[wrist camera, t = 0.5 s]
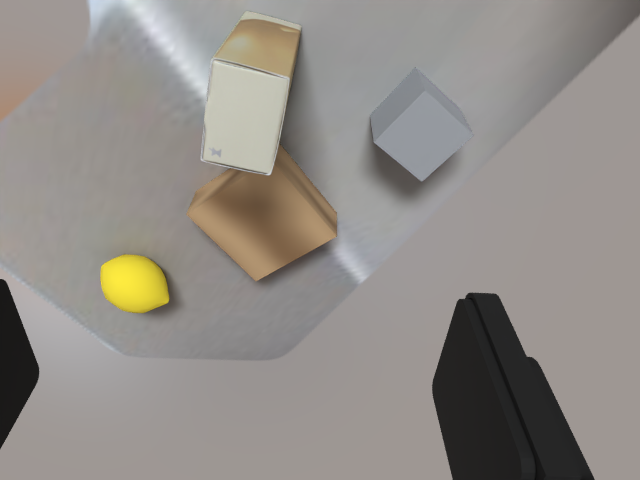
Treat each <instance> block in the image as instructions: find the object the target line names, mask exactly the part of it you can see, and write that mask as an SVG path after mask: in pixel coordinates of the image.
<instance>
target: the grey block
mask: <svg viewBox="0 0 640 480" xmlns="http://www.w3.org/2000/svg"><path fill="white" fill-rule="evenodd" d="M370 119H371V126H372V134H373V141H374V143H375V144H376V145H378V146H379V147H380V148H381V149H382V150H384V151H385V152H386V153H387V154H389V155H390V156H391V157H392V158H393V159H395V160H396V161H397V162H398V163H399V164H401V165H402V166H403V167H404V168H406V169H407V170H408V171H409V172H410V173H412V174H413V175H414V176H415V177H416V178H418V179H419V180H420V181H421V182H422V181H423V180H424V179H426V178H427V177H428V176H429V175H430V174H431V173H432V172H433V171H435V170H436V169H437V168H438V167H439V166H440V165H441V164H442V163H443V162H445V161H446V160H447V159H448V158H449V157H450V156H451V155H452V154H454V153H455V152H456V151H457V150H458V149H459V148H460V147H461V146H462V145H464V144H465V143H466V142H467V141H468V140H469V139H470V138H471V137H473V136H474V135H473V133H472V131H471V129H470V127H469V125H468V123H467V121H466V119H465V117H464V115H463V113H462V111H461V110H460V108H459V107H458V106H457V105H456V104H455V103H454V102H453V101H451V100H450V99H449V98H448V97H447V96H446V95H445V94H444V93H443V92H442V91H441V90H440V89H439V88H438V87H437V86H436V85H434V84H433V83H432V82H431V81H430V80H429V79H428V78H427V77H426V76H425V75H424V74H423V73H422V72H421V71H420V70H418V69H417V68H416V67H415V68H414V69H413V70H412V72H411V73H410V74H409V75H408V76H407V77H406V78H405V79H404V80H403V81H402V82H401V83H400V84H399V85H398V86H397V87H396V88H395V89H394V90H393V91H392V93H391V94H390V95H389V96H388V97H387V98H386V99H385V100H384V101H383V102H382V103H381V104H380V105H379V106H378V107H377V108H376V109H375V110H374V111H373V112H372V114H371V115H370Z"/></svg>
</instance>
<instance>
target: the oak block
mask: <svg viewBox="0 0 640 480" xmlns="http://www.w3.org/2000/svg"><path fill="white" fill-rule="evenodd" d="M186 215H188V216H189V217H190V218H191V219H192V220H193V221H194V222H195V223H196V224H197V225H198V226H199V227H200V228H201V229H202V230H203V231H204V232H205V233H206V234H207V235H208V236H209V237H210V238H211V239H212V240H213V241H215V242H216V243H217V244H218V245H219V246H220V247H221V248H222V249H223V250H224V251H225V252H226V253H227V254H228V255H229V256H230V257H231V258H232V259H233V260H234V261H235V262H236V263H237V264H238V265H239V266H240V267H241V268H243V269H244V270H245V271H246V272H247V273H248V274H249V275H250V276H251V277H252V278H253V279H254V280H255V281H258V280H259V279H261V278H263V277H265V276H267V275H268V274H270V273H272V272H274V271H276V270H277V269H279V268H281V267H283V266H285V265H286V264H288V263H290V262H292V261H294V260H295V259H297V258H299V257H301V256H303V255H304V254H306V253H308V252H310V251H312V250H313V249H315V248H317V247H319V246H321V245H322V244H324V243H326V242H328V241H330V240H331V239H333V238H335V237H337V212H336V211H335V210H334V209H333V208H332V206H331V205H330V204H329V203H328V202H327V200H326V199H325V198H324V197H323V195H322V194H321V193H320V192H319V191H318V189H317V188H316V187H315V186H314V185H313V183H312V182H311V181H310V180H309V178H308V177H307V176H306V175H305V174H304V172H303V171H302V170H301V169H300V168H299V166H298V165H297V164H296V163H295V161H294V160H293V159H292V158H291V157H290V155H289V154H288V153H287V152H286V151H285V149H284V148H283V147H282V146H281V145H280V143H279V146H278V151H277V155H276V159H275V162H274V166H273V170H272V173H271V174H270V175H264V174H258V173H252V172H247V171H242V170H238V169H233V168H230V169H228V170H227V171H225V172H224V173H222V174H221V175H219V176H218V177H216V178H215V179H214V180H212V181H211V182H209V183H208V184H206V185H205V186H203V187H202V188H200V189H199V190H197V191H196V193H195V195H194V198H193V200H192V202H191V205H190V207H189V209H188V212H187V214H186Z"/></svg>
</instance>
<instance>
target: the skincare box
mask: <svg viewBox="0 0 640 480" xmlns="http://www.w3.org/2000/svg"><path fill="white" fill-rule="evenodd" d="M301 29H302V27H301V26H300V25H298V24H294V23H291V22H288V21H284V20H281V19H277V18H273V17H270V16H266V15H262V14H258V13H254V12H250V11H246V12H244V14H243V15H242V17H241V18H240V19H239V21H238V22H237V24H236V25H235V27H234V28H233V29H232V31H231V32H230V34H229V35H228V36H227V38H226V39H225V41H224V42H223V43H222V45H221V46H220V48H219V49H218V50H217V52H216V53H215V55H214V56H213V57H212V59H211V61H210V70H209V79H208V88H207V98H206V106H205V117H204V128H203V138H202V149H201V161H203V162H207V163H212V164H216V165H220V166H224V167H229V168H233V169H238V170H242V171H247V172H252V173H258V174H264V175H270V174H271V173H272V170H273V166H274V162H275V159H276V155H277V151H278V146H279V141H280V136H281V131H282V126H283V121H284V117H285V112H286V107H287V102H288V97H289V92H290V87H291V83H292V78H293V73H294V68H295V64H296V58H297V52H298V46H299V41H300V35H301Z"/></svg>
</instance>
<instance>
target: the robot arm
mask: <svg viewBox="0 0 640 480" xmlns="http://www.w3.org/2000/svg"><path fill="white" fill-rule="evenodd" d="M38 378H39V367H38V363H37V361H36V358H35V356H34V353H33V350H32V348H31V345H30V342H29V340H28V337H27V335H26V332H25V329H24V327H23V324H22V321H21V319H20V316H19V313H18V311H17V308H16V306H15V303H14V301H13V298H12V295H11V292H10V290H9V287H8V285H7V283H6V281H4V280H3V279H0V448H1V447H2V445H3V443H4V441H5V440H6V438H7V436H8V434H9V432H10V431H11V429H12V427H13V425H14V423H15V422H16V420H17V418H18V416H19V414H20V413H21V411H22V409H23V407H24V405H25V404H26V402H27V400H28V398H29V397H30V395H31V393H32V391H33V389H34V388H35V386H36V383H37V381H38ZM432 391H433V398H434V403H435V407H436V411H437V415H438V420H439V424H440V428H441V432H442V436H443V440H444V445H445V449H446V453H447V457H448V461H449V465H450V470H451V474H452V478H453V480H594V477H593V475H592V473H591V471H590V469H589V467H588V465H587V463H586V460H585V458H584V457H583V454H582V452H581V450H580V448H579V446H578V444H577V442H576V440H575V438H574V436H573V433H572V431H571V429H570V427H569V425H568V423H567V421H566V419H565V417H564V415H563V413H562V410H561V409H560V406H559V404H558V402H557V400H556V398H555V396H554V394H553V392H552V390H551V388H550V386H549V383H548V381H547V380H546V377H545V375H544V373H543V371H542V369H541V367H540V366H539V364H538V362H537V361H536V360H535V359H534V358H532V357H527V356H526V354H525V352H524V350H523V348H522V345H521V343H520V341H519V339H518V337H517V335H516V332H515V330H514V328H513V326H512V324H511V322H510V320H509V317H508V315H507V313H506V311H505V309H504V306H503V305H502V302H501V300H500V298H499V296H498V295H497V294H489V293H468V294H467V295H466V298H465V299H459V300H458V301H457V304H456V307H455V311H454V314H453V317H452V320H451V324H450V327H449V330H448V333H447V337H446V340H445V343H444V347H443V350H442V353H441V356H440V359H439V363H438V366H437V369H436V373H435V376H434V379H433V385H432Z"/></svg>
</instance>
